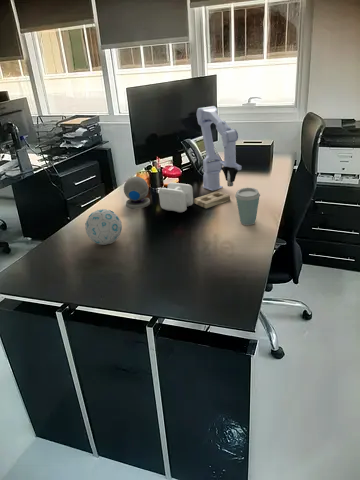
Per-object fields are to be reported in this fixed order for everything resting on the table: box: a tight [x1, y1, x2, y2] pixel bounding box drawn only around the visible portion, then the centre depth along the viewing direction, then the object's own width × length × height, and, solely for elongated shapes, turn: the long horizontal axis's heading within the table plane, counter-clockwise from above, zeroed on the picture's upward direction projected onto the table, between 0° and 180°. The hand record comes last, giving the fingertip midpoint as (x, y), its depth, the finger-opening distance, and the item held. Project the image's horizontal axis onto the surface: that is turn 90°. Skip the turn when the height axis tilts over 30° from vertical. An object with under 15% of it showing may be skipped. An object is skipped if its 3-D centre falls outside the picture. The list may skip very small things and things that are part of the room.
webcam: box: [123, 176, 151, 209], centre depth 190 cm, size 13×13×15 cm
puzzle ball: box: [85, 208, 123, 246], centre depth 153 cm, size 15×15×15 cm
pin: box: [226, 170, 234, 187], centre depth 186 cm, size 3×3×8 cm
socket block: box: [193, 190, 231, 209], centre depth 188 cm, size 10×16×2 cm, turn 125°
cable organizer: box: [158, 181, 194, 213], centre depth 182 cm, size 15×11×12 cm
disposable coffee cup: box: [234, 187, 261, 226], centre depth 160 cm, size 11×11×15 cm
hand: (230, 180), depth 187 cm, fingers closed on pin, 3 cm apart
